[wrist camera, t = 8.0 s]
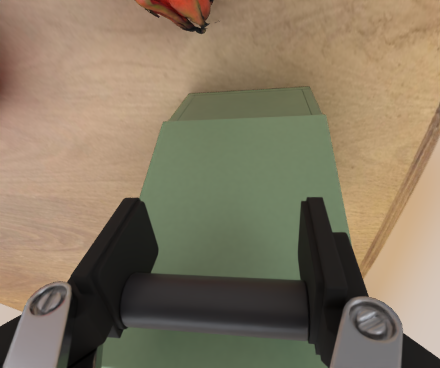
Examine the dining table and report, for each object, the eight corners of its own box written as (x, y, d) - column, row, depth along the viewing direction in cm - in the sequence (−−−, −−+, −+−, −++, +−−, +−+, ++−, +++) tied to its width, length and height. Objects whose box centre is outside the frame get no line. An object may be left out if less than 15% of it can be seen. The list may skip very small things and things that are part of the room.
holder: (300, 209, 34) (308, 259, 28) (206, 208, 36) (193, 255, 30) (309, 86, 26) (324, 116, 20) (188, 93, 28) (166, 123, 22)
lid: (375, 397, 11) (438, 396, 7) (95, 367, 13) (16, 353, 9) (324, 123, 20) (338, 54, 16) (165, 129, 22) (143, 69, 18)
